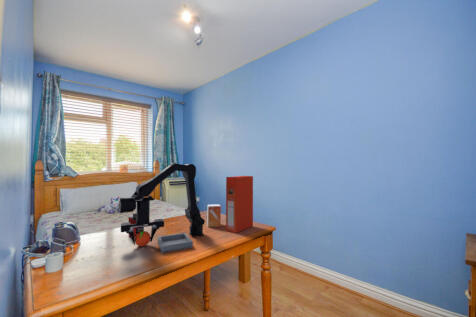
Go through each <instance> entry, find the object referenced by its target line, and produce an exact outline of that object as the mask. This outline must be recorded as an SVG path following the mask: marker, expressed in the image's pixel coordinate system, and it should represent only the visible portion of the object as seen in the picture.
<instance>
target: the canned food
mask: <svg viewBox="0 0 476 317" xmlns="http://www.w3.org/2000/svg"><path fill="white" fill-rule="evenodd" d="M133 214H134V213H131V214H129V215H128V222H130V224H136V220H134V221H133ZM138 226H140V225H138ZM141 231H145V227H139V228H133V232H134V238H135V237H136V235H137V234H138V233H139V232H141ZM127 234H128V236H129V237H130V238H131V236H130V235H129V233H127Z"/></svg>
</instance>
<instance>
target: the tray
mask: <svg viewBox="0 0 476 317" xmlns="http://www.w3.org/2000/svg"><path fill="white" fill-rule="evenodd" d="M156 239H157V245H158V247H159V251H160V252H161V254H166V253H170V252H176V251H180V250H181V251H182V250H187V249H192V248H193V247H194V246H193V245H194V244H193V242H194V241H193V239H191V237H190V236H189V235H188V234H187V233H186V232H180V233H173V234H165V235H159V236H157V238H156Z"/></svg>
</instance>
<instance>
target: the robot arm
mask: <svg viewBox="0 0 476 317" xmlns="http://www.w3.org/2000/svg"><path fill="white" fill-rule="evenodd" d="M176 171H177V172H181V173H182V176H183V178H184V180H185V188H186V198H187V207H186V208H185V209H184V214H185V215H184V216H185V217H186V220H188V221H189V223H190V226H189V235H190V236H191V238H192V237H194V238H195V237H200V236H204V233H203V229H204V228H203V227H204V225H205V223H206V222H205V221H206V220H205V219H204V218H203V217H202V215H201V211H200V208H199V207H198V205H197V204H198V203H197V194H196V187H195V186H196V185H195V183H196V182H195V178H196V175H197V167H196V165H195V164H193V163H184V164H181V163H180V164H179V163H176V162H171V163H170V164H169V165H168V166H167V167H165V168H164V169H162V170H161V171H160V172H159V173H157V174H156V175H154V176H153V177H152V178H150V179H148V180H146V181H143V182H141V183H140V184H138V185H137V186H136V188H135V191H134V193H133V194H132V195H131V196H130V197H120V198H119V202H118V205H117V206H118V207H117V208H118V209H117V210H118V214H124V213H126V214H127V213H132V214H133V221H134V220H136V224H130V222H129V221H128V222H122V223H121V224H120V233H126V234H128V233H129V235H130V236H131V237H130V236H129V235H128V236H129V237H130V239H131V241H132V243H133V245H135V244H136V243H135V237H134V232H133V228H139V227H144V228H145V227H151V229H150V230H151V232H150V237H151V238H150V242H149V243H152V242H153V239H154V236H155V234H156V233H157V231H158V230H160V228H164V227H165V221H164V219H163V218H157V219H154V221H150V220H151V219H150V218H151V216H150V214H151V213H150V211H151V210H150V209H151V208H150V206H151V201H155V198H153V197H152V195H151V194H152V193H153V192H154V191H155V189H156V187H157V186H159V184H161V183H162V182H164V180H166V179H168V177H170V176H171V175H172V174H174V173H175V172H176ZM134 211H136V213H133V212H134ZM138 225H140V226H138Z"/></svg>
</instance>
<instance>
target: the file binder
mask: <svg viewBox="0 0 476 317" xmlns="http://www.w3.org/2000/svg"><path fill="white" fill-rule="evenodd" d="M225 180H226V181H225V186H226V187H225V188H226V189H225V191H226V192H225V230H226V232H229V233H233V234H237V233H240V232H243V231H245V230H247V229H250V228H251V227H253V226H254V176H253V175H238V176H237V175H236V176H235V175H234V176H226V177H225Z"/></svg>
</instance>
